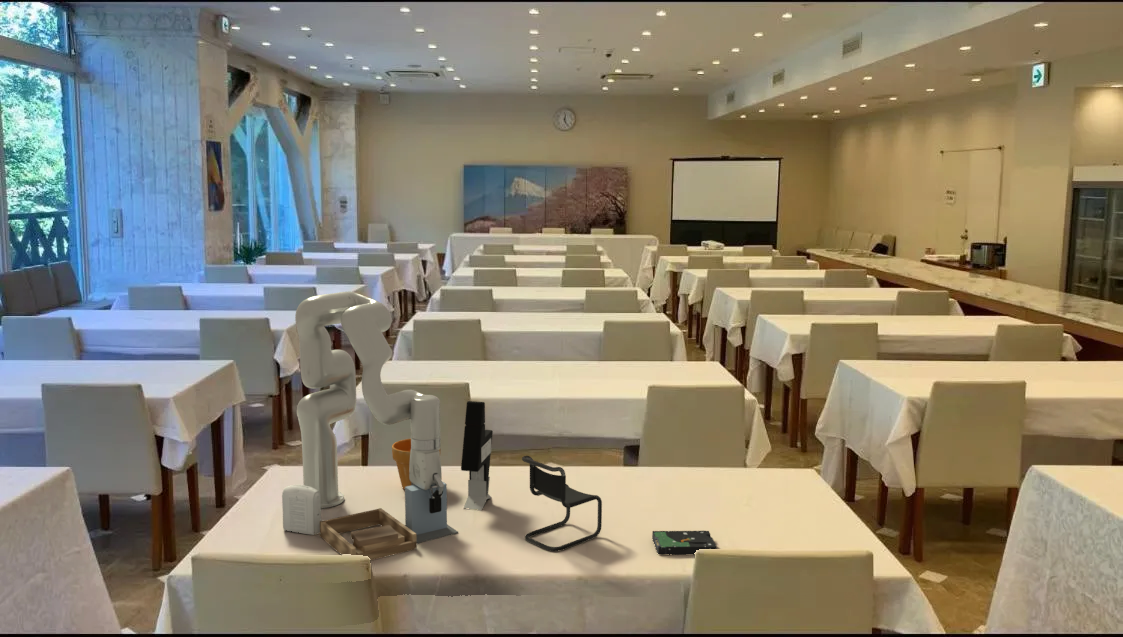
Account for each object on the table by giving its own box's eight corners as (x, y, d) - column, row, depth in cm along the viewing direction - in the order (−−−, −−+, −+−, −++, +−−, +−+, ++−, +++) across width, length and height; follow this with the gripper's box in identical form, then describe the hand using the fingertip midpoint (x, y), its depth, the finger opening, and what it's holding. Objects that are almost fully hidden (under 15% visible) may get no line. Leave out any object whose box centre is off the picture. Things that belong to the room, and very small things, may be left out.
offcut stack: (347, 549, 231) (347, 532, 231) (393, 539, 238) (392, 522, 238) (359, 560, 225) (359, 542, 225) (406, 548, 232) (405, 531, 232)
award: (478, 513, 256) (478, 408, 251) (460, 512, 257) (459, 406, 252) (493, 495, 271) (493, 394, 266) (476, 493, 272) (475, 393, 267)
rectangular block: (405, 530, 243) (404, 486, 241) (439, 522, 248) (439, 479, 247) (412, 535, 240) (411, 491, 238) (446, 527, 245) (446, 483, 243)
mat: (396, 528, 245) (396, 526, 245) (436, 518, 252) (436, 517, 252) (416, 543, 236) (416, 542, 236) (458, 533, 243) (458, 531, 242)
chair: (519, 538, 239) (519, 456, 236) (567, 521, 251) (568, 443, 248) (553, 554, 230) (554, 468, 227) (602, 536, 242) (603, 454, 238)
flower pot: (394, 479, 283) (393, 438, 281) (441, 478, 285) (440, 437, 283) (391, 495, 269) (390, 452, 267) (440, 494, 271) (440, 451, 269)
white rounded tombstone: (324, 530, 244) (322, 485, 242) (315, 536, 240) (313, 490, 238) (290, 525, 247) (288, 480, 245) (280, 531, 243) (278, 486, 241)
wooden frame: (320, 536, 240) (319, 521, 239) (381, 522, 249) (381, 508, 249) (352, 565, 223) (351, 549, 222) (416, 548, 232) (416, 533, 232)
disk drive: (708, 540, 241) (651, 540, 240) (708, 530, 241) (651, 530, 240) (717, 557, 231) (657, 557, 230) (717, 546, 231) (658, 546, 230)
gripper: (397, 437, 245) (399, 499, 248) (428, 454, 231) (429, 519, 234) (423, 432, 249) (424, 494, 252) (454, 449, 235) (455, 513, 238)
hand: (426, 506), depth 243 cm, fingers open, 9 cm apart
